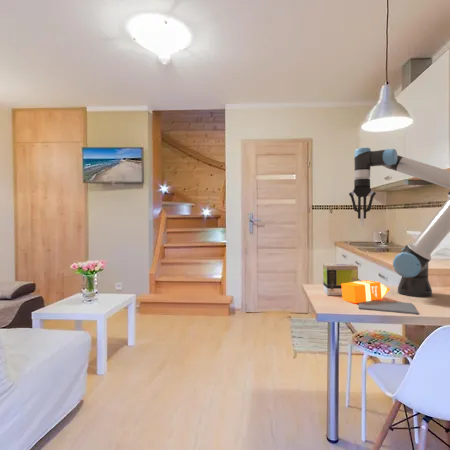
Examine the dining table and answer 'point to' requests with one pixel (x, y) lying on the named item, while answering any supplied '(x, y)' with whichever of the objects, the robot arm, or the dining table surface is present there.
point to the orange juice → (363, 291)
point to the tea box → (338, 277)
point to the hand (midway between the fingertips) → (361, 225)
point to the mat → (388, 306)
